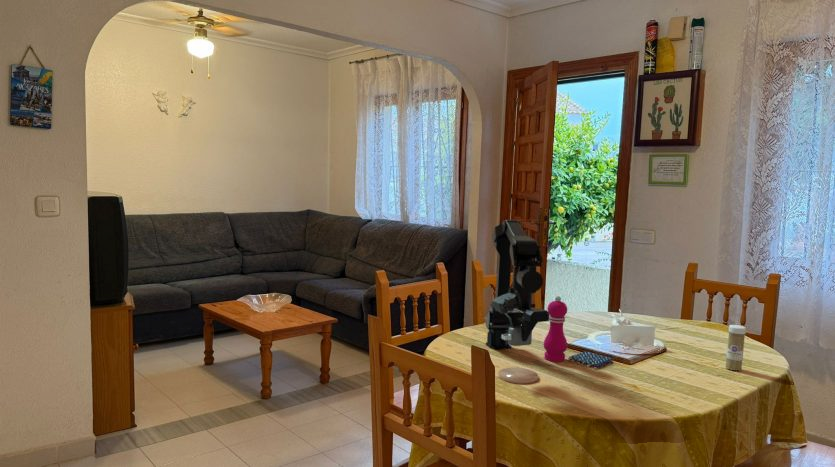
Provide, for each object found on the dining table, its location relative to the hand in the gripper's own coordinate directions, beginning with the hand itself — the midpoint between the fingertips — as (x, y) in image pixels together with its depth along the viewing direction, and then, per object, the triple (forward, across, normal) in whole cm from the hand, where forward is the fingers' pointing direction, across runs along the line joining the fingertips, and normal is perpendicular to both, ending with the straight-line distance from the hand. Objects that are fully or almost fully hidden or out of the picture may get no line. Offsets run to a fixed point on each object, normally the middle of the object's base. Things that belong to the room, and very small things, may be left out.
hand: (520, 339), depth 167 cm
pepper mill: (+11, -10, +20) cm, 25 cm away
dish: (+12, -16, +54) cm, 57 cm away
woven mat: (+12, -4, +29) cm, 32 cm away
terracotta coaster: (+11, 0, 0) cm, 11 cm away
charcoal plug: (+1, 0, 0) cm, 1 cm away
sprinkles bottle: (+11, +16, +67) cm, 70 cm away
